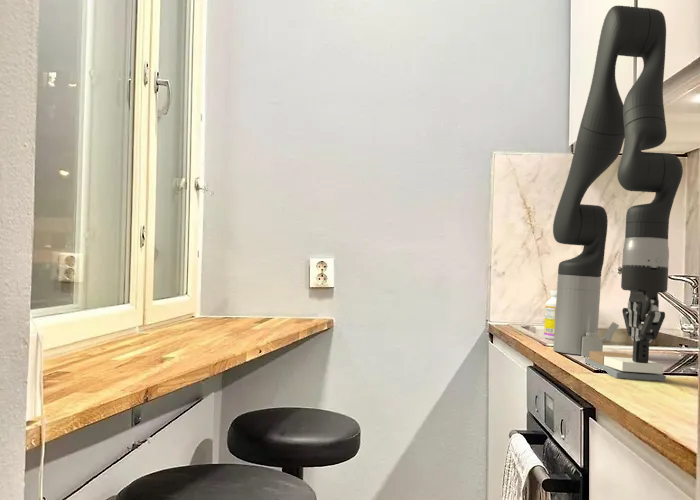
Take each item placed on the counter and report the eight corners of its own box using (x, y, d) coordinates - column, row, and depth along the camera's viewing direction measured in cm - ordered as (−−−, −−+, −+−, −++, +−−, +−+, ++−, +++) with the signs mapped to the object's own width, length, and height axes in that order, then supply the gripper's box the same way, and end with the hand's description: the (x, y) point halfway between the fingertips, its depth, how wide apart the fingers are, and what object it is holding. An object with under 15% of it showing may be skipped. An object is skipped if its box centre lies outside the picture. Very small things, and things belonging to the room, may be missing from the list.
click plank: (603, 364, 128) (604, 356, 128) (641, 367, 128) (641, 358, 128) (622, 371, 119) (622, 361, 119) (662, 373, 119) (663, 364, 119)
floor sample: (584, 363, 137) (585, 350, 137) (627, 366, 137) (628, 353, 137) (616, 378, 120) (617, 363, 120) (665, 381, 120) (666, 366, 120)
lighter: (581, 357, 147) (583, 319, 147) (581, 356, 149) (583, 319, 149) (616, 360, 145) (619, 322, 145) (616, 359, 147) (618, 322, 147)
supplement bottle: (569, 339, 184) (572, 291, 184) (570, 341, 178) (573, 292, 178) (543, 336, 186) (546, 289, 186) (543, 339, 179) (546, 290, 180)
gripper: (610, 264, 128) (605, 357, 127) (638, 262, 115) (633, 366, 114) (650, 266, 128) (645, 360, 127) (684, 265, 115) (679, 369, 114)
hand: (640, 362), depth 121 cm, fingers closed
